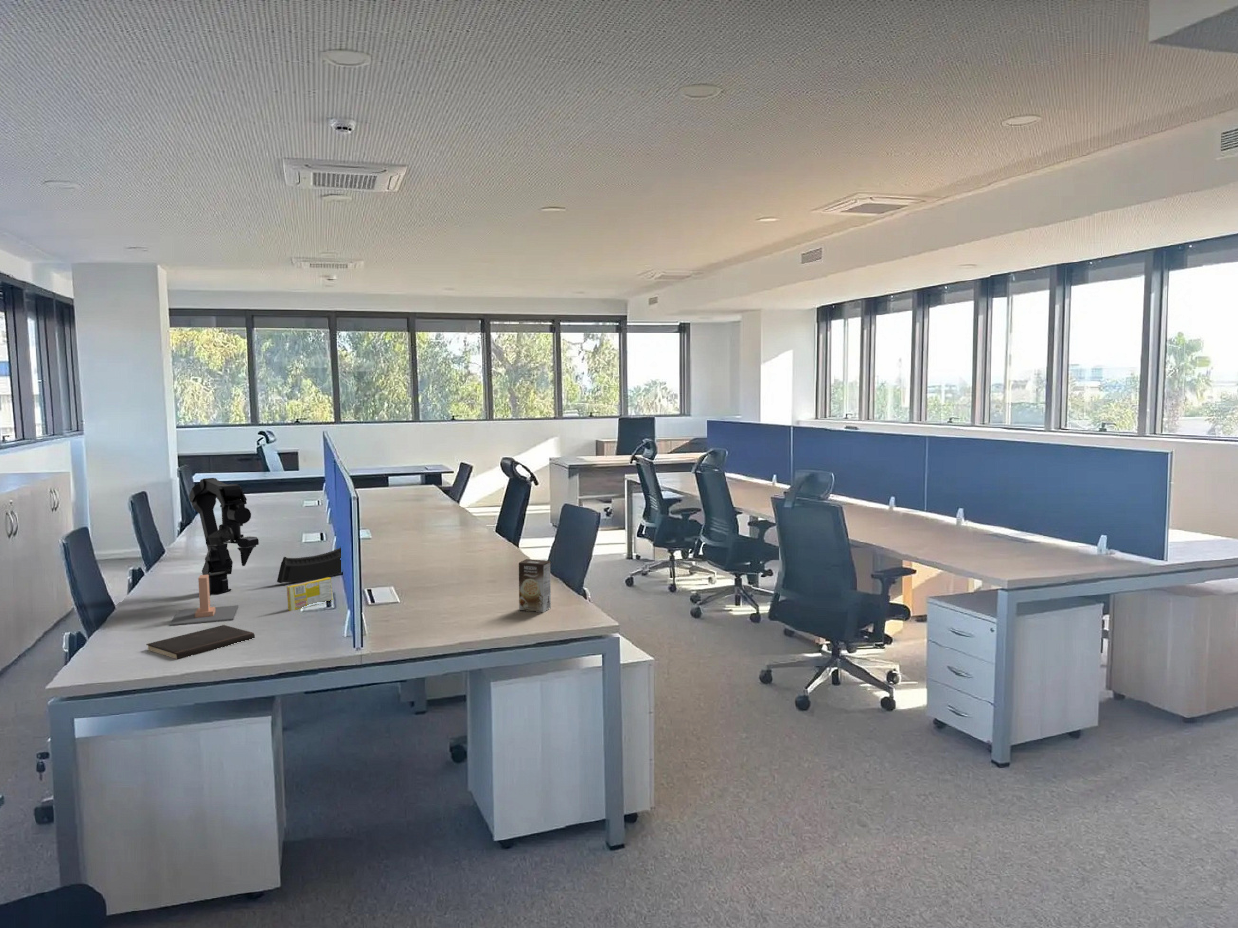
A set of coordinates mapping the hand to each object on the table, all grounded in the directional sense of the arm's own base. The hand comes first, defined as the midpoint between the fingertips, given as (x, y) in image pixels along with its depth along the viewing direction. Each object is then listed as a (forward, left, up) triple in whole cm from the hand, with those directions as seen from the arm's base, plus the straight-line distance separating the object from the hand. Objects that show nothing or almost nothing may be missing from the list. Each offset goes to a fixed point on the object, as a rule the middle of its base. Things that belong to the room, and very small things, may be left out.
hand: (233, 565), depth 294 cm
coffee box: (+107, +20, -12) cm, 110 cm away
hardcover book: (+33, -45, -13) cm, 57 cm away
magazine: (+6, +35, -12) cm, 38 cm away
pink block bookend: (+8, -21, -12) cm, 25 cm away
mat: (+8, -21, -12) cm, 25 cm away
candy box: (+32, +1, -12) cm, 34 cm away
